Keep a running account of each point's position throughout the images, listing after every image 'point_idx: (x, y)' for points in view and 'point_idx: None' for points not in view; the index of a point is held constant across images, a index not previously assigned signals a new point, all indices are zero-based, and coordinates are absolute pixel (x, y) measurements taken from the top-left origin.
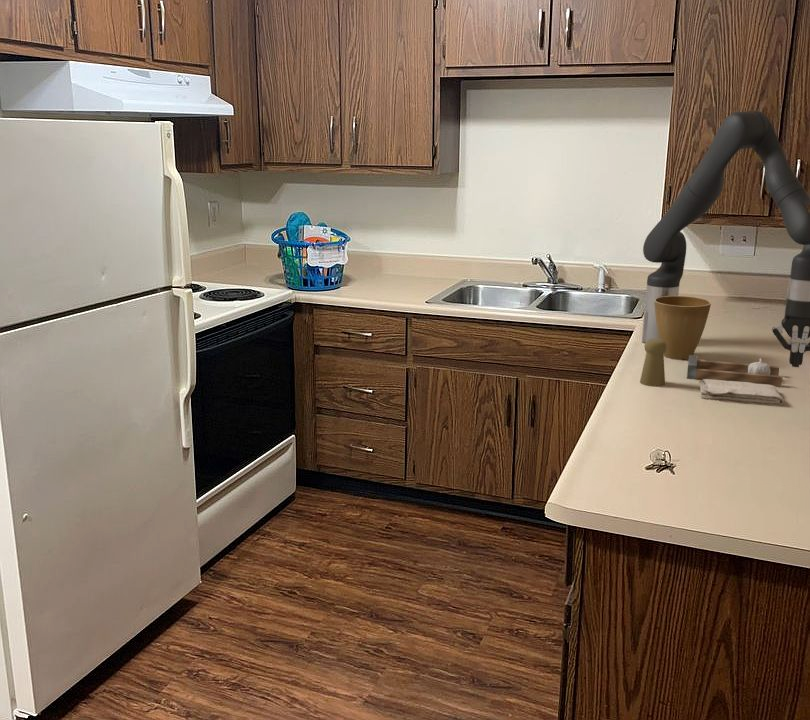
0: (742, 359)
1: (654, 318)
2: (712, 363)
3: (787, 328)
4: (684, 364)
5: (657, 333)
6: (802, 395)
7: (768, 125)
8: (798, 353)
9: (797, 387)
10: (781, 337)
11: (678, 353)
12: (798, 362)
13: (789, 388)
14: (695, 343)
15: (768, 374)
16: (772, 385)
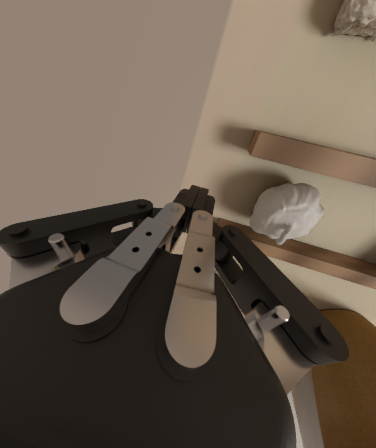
0: (232, 295)
1: None
2: (363, 271)
3: (242, 339)
4: (370, 293)
5: None
6: (235, 4)
7: None
8: (188, 205)
9: (210, 135)
10: (267, 277)
11: (366, 323)
12: (191, 189)
13: (238, 118)
14: None
15: (269, 190)
16: (373, 2)
